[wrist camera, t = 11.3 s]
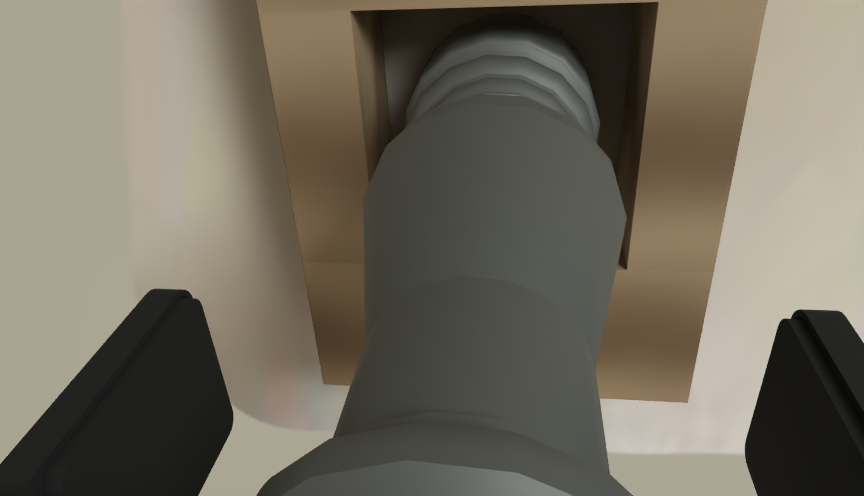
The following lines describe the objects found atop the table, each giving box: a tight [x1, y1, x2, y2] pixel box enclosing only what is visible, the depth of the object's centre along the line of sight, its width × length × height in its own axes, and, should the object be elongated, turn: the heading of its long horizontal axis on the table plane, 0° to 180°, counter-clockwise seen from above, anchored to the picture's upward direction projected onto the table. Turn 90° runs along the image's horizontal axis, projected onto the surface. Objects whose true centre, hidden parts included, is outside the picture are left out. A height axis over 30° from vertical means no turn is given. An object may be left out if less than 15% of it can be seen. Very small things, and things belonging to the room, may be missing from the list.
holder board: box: [256, 0, 767, 403], centre depth 22 cm, size 20×14×4 cm
